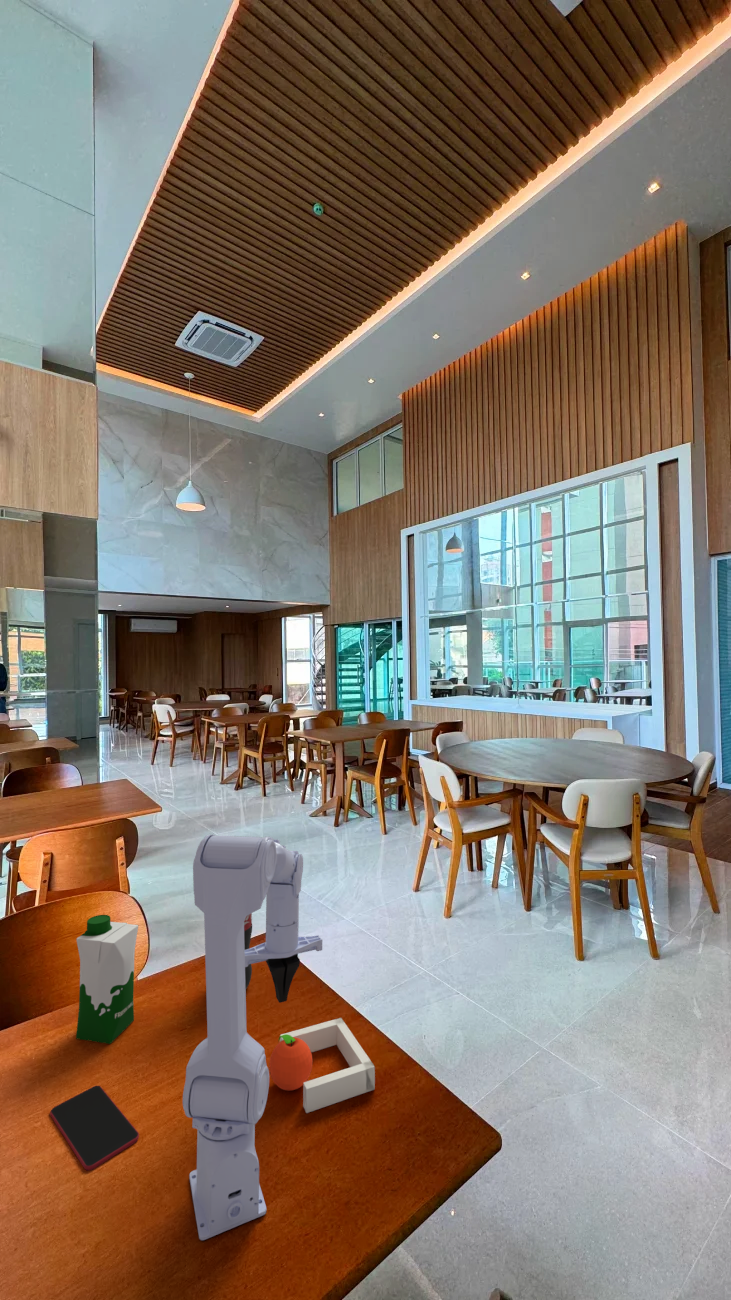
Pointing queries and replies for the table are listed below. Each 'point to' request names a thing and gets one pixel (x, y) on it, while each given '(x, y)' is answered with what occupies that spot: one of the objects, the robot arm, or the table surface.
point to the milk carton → (106, 979)
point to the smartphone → (94, 1127)
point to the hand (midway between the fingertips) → (281, 999)
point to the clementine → (290, 1063)
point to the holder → (342, 1081)
